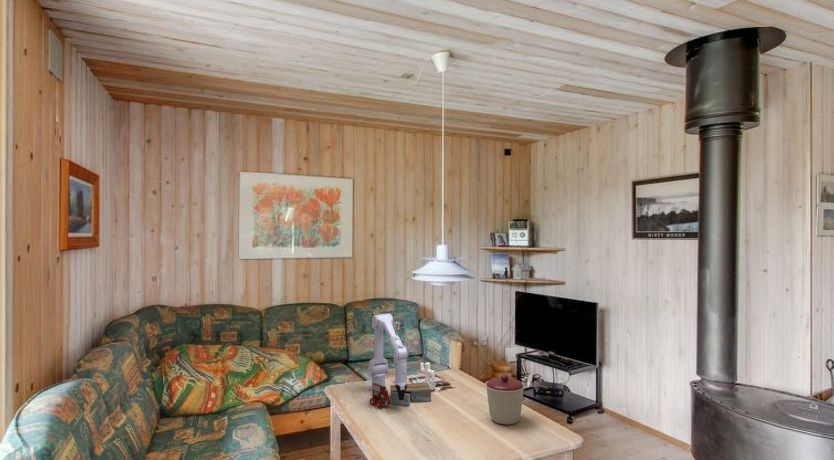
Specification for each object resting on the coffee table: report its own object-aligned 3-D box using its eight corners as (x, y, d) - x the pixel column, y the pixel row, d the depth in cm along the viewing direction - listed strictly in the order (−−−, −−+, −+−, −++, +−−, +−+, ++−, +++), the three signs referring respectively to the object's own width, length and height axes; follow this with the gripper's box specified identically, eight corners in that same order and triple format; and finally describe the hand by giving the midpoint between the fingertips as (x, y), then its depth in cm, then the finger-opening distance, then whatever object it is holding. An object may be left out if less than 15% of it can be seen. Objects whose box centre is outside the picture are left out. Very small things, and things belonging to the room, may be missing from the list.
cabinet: (390, 396, 247) (390, 384, 247) (427, 393, 250) (427, 382, 250) (392, 404, 235) (392, 392, 235) (431, 402, 238) (431, 390, 238)
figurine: (430, 393, 250) (430, 365, 250) (416, 390, 256) (416, 362, 256) (438, 390, 256) (438, 362, 256) (425, 386, 262) (424, 359, 262)
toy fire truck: (383, 411, 227) (382, 389, 227) (367, 404, 236) (367, 384, 236) (393, 407, 232) (393, 386, 232) (377, 400, 240) (377, 380, 240)
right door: (392, 402, 237) (392, 391, 237) (410, 405, 233) (409, 394, 233) (390, 403, 235) (390, 393, 235) (408, 406, 231) (408, 395, 231)
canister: (478, 415, 220) (478, 371, 220) (512, 410, 226) (511, 367, 226) (497, 431, 203) (496, 382, 203) (533, 425, 208) (532, 378, 209)
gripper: (391, 368, 237) (392, 395, 236) (394, 377, 222) (394, 405, 222) (405, 367, 237) (405, 394, 237) (408, 376, 223) (409, 404, 223)
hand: (401, 399), depth 230 cm, fingers closed
